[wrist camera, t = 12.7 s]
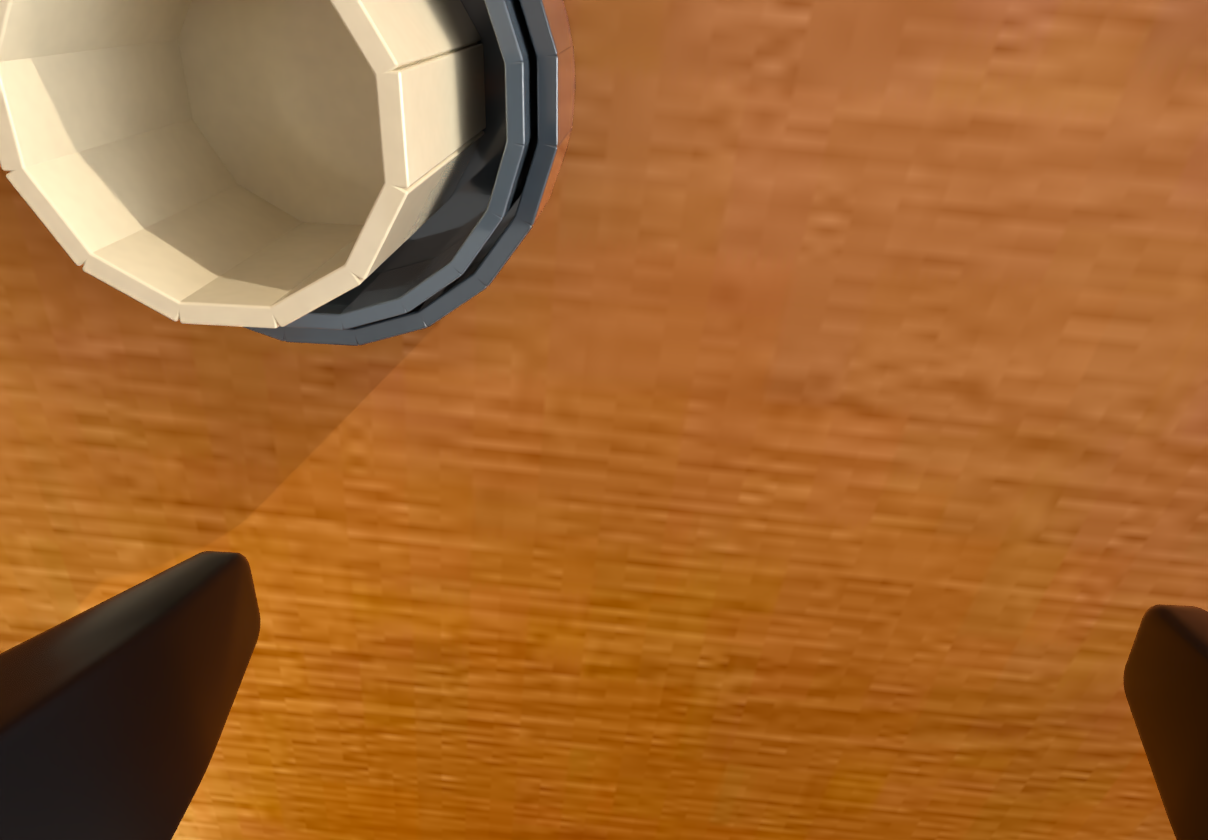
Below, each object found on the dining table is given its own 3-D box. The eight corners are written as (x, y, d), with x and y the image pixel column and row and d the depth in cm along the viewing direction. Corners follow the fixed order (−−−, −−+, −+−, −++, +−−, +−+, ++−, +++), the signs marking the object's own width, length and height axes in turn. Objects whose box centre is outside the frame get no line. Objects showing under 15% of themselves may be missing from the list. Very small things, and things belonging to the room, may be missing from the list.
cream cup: (490, 241, 20) (419, 337, 15) (208, 227, 21) (41, 317, 15) (479, -94, 17) (385, -127, 12) (149, -102, 18) (-85, -136, 12)
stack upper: (551, 286, 21) (528, 340, 18) (181, 268, 22) (96, 317, 19) (549, -169, 17) (519, -201, 14) (94, -177, 18) (-33, -209, 14)
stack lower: (574, 309, 21) (557, 357, 19) (164, 289, 22) (92, 332, 19) (578, -203, 17) (558, -237, 14) (60, -211, 17) (-52, -244, 15)
